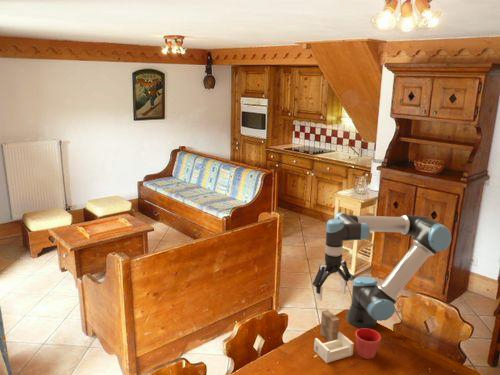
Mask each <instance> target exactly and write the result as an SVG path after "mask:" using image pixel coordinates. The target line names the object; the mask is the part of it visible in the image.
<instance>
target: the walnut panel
mask: <svg viewBox="0 0 500 375" xmlns="http://www.w3.org/2000/svg"><path fill="white" fill-rule="evenodd" d="M339 327H340V319H339V317H337V316H336V315H335V314H333V312H331V311H330V310H327V309H326V310H323V311H321V321H320V333H319V334H320V335H321V336H322V337H323V338H324V339H325V340H326V342H330V341H334V340H337V338H338V332H339Z"/></svg>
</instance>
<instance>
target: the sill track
mask: <svg viewBox="0 0 500 375" xmlns="http://www.w3.org/2000/svg"><path fill="white" fill-rule="evenodd" d="M354 345H355V343H354V342H353V341H352V340H350V338H348V337H347V336H346V335H345V334H343V333H342V332H341V331H338V338H337V340H334V341H330V342H329V341H326V342H322V341H321V340H320V339H319V338H317V337H315V338H314V345H313V351H314V352H315V353H316V354H317V355H318V356H319V357H320V358H321V359H322V360H323V361H324V362H325V363H326V364H328V363H331V362H334V361H338V360H342V359H345V358H348V357H351V356H353V355H354V347H355V346H354Z"/></svg>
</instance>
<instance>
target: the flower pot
mask: <svg viewBox="0 0 500 375" xmlns="http://www.w3.org/2000/svg"><path fill="white" fill-rule="evenodd" d="M381 336H382V335H381V334H380V333H379V332H378V331H376V330H374V329H372V328H359V329H357V330H356V331H355V341H356V342H355V343H356V351H357V355H358V356H359V357H361V358H363V359H366V360H367V359H369V360H370V359H374V358H375V357H376V354H377V351H378V348H379V345H380V342H381V339H382V337H381Z"/></svg>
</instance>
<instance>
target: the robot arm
mask: <svg viewBox="0 0 500 375" xmlns="http://www.w3.org/2000/svg"><path fill="white" fill-rule="evenodd" d="M325 228H326V229H325V251H324V252H325V253H324V254H325V255H324V262H325V264H324V265H322V264H319V267H318V271H317V273H316V276H315V278H314V279H313V282H312V286H313V287H315V288H316V289H315V293H316V294H317V295H316V299H317V300H319V301H320V302H321V301H323V287H322V286H323V284H324V283H325V281H326V280H327V279H328V277H330V276H331V275H332V274H336V273H338V275H339V276H341V280H340V291H339V292H340V293H342V294H343V295H346V293H347V292H346V291H347V290H346V289H347V286H348V282H349V281H350V279H351V278H352V275H351V273H350V271H349V268H348V266H347V265H348V263H347V261H346V260H345V259H343V245H344V244H343V242H345V241H362V240H367V239H369V237H370V233H371V232H379V233H380V232H381V233H400V234H402V235H405V236H406V235H407V236H411V237H413V239H412V243H413V244H412V245H411V247H409V249H408V251H407V252H406V253H405V254H404V255H403V257H402V258H401V259H400V261H399V262H398V263H397V264H396V265H395V267H393V269H392V270H391V272H390V273H389V274H388V275H387V276H386V278H384V280H383V281H382V283H378V280H377V279H376V278H373V277H368V276H358V277H355V278H354V279H353V283H352V290H351V291H352V293H351V305H350V306H349V309H348V311H347V313H346V320H347V322H348V323H349V324H351V325H352V326H354V327H356V328H359V329H362V328H368V329H372V328H374V327H376V326H377V323H378V321H379V322H381V321H382V322H383V321H387V320H389V319H390V318H391V317H393V315H394V314H395V312H396V306H395V304H396V303H397V302H398V295H399V294H400V293H401V291H402V290H403V289H404V288H405V286H406V285H407V284H408V283H409V281H411V279H412V278H413V277H414V275H415V274H416V273H417V272H418V270H419V269H420V268H421V267H422V265H423V264H424V263H425V262H426V260H427V259H428V258H430V257H431V256H435V255H436V254H437V252H443V251H445V250H447V249H448V248H449V247H450V246H451V245H450V244H451V242H452V234H451V233H452V232H451V231H450V229H449V228H448V227H447V226H445V225H444V224H442V223H439V221H436V220H434V219H432V218H430V217H429V216H424V215H415V214H414V215H410V214H403V215H401V216H385V215H384V216H380V215H356V214H355V215H354V214H347V213H345V212H338V213H337V214H336V215H335V216H334V218H331V219H328V221H327V222H326V227H325Z"/></svg>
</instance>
